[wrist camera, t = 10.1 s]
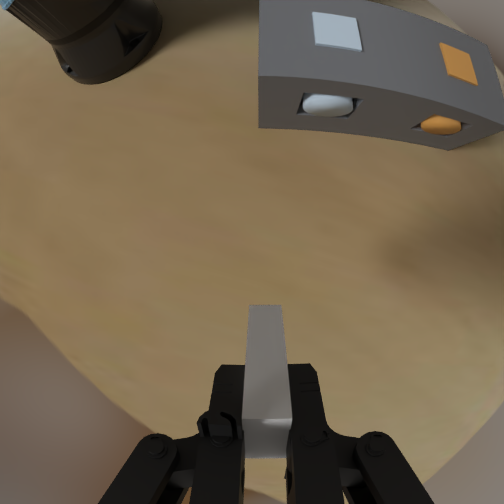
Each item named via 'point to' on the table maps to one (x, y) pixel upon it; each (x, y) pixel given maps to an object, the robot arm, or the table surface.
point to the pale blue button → (326, 104)
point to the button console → (374, 72)
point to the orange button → (440, 125)
